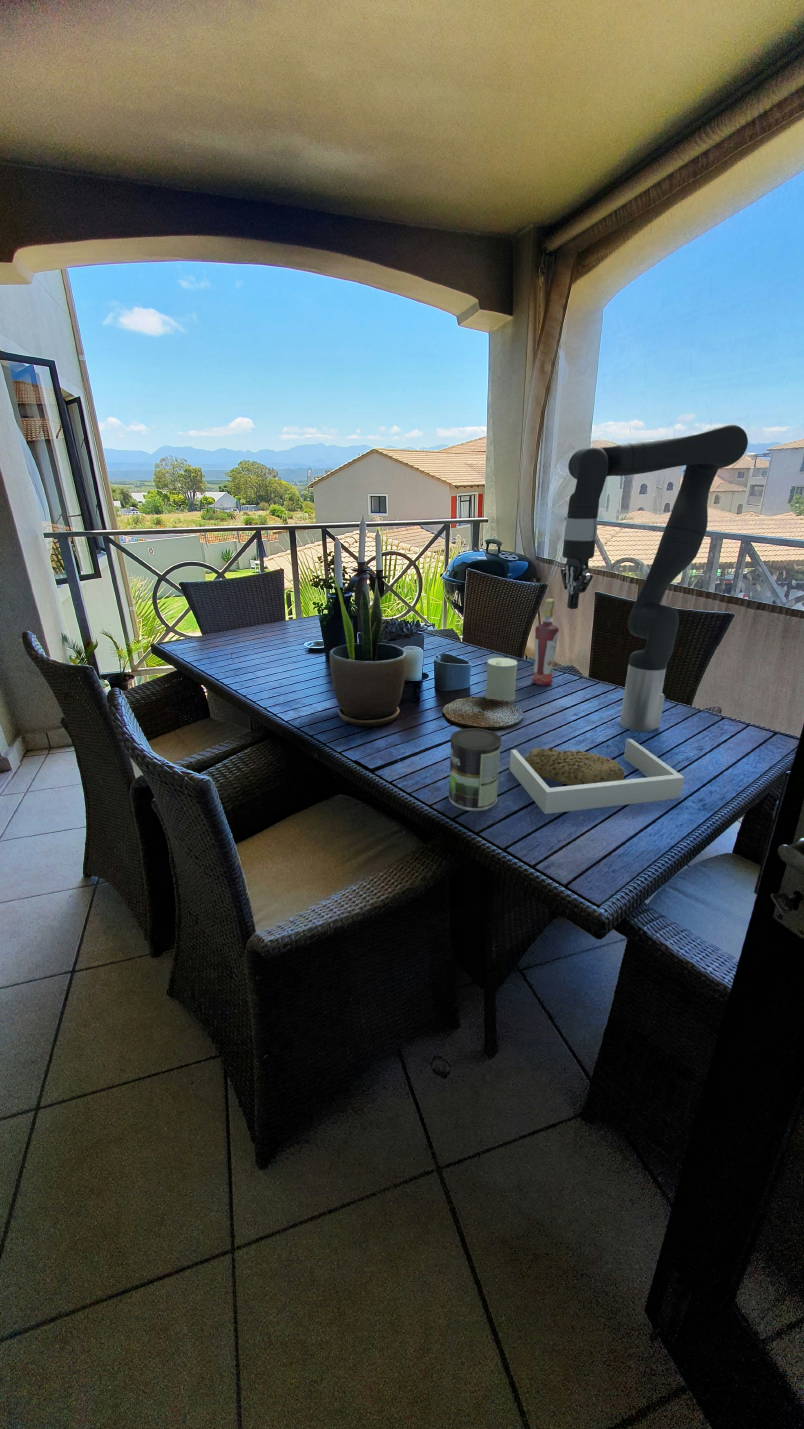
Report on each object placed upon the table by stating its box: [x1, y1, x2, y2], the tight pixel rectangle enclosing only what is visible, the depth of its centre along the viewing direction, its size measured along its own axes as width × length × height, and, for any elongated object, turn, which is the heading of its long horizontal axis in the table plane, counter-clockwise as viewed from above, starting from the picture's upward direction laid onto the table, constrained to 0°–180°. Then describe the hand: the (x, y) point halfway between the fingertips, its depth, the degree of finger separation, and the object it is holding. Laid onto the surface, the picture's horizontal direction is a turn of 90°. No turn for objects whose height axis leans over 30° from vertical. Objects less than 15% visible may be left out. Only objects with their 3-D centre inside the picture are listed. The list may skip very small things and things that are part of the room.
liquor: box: [531, 598, 560, 687], centre depth 181 cm, size 7×7×28 cm
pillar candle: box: [484, 657, 518, 703], centre depth 173 cm, size 9×9×12 cm
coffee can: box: [448, 727, 502, 812], centre depth 116 cm, size 10×10×14 cm
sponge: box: [524, 748, 626, 786], centre depth 124 cm, size 13×8×20 cm
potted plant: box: [329, 573, 408, 728], centre depth 154 cm, size 21×22×40 cm
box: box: [509, 738, 685, 815], centre depth 123 cm, size 30×20×5 cm, turn 101°
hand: (572, 608), depth 143 cm, fingers closed
